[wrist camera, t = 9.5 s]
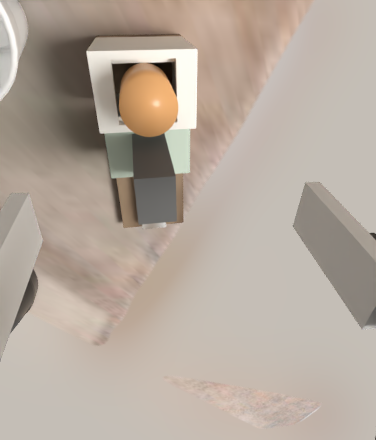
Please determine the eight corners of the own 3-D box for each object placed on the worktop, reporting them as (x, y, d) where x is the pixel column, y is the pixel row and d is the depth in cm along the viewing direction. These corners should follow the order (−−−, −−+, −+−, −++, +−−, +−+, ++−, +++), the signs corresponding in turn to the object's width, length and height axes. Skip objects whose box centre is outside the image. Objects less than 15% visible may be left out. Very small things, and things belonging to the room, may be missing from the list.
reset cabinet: (105, 104, 33) (99, 133, 26) (95, 37, 29) (86, 51, 23) (182, 100, 34) (196, 128, 27) (181, 36, 30) (197, 48, 24)
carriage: (112, 160, 35) (106, 232, 25) (106, 115, 32) (96, 175, 22) (184, 156, 36) (207, 223, 26) (183, 111, 33) (210, 167, 23)
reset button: (123, 116, 26) (122, 138, 22) (117, 63, 24) (115, 77, 20) (171, 114, 27) (178, 135, 23) (169, 62, 25) (177, 75, 21)
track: (123, 221, 43) (123, 237, 41) (96, 35, 31) (93, 40, 28) (181, 216, 44) (185, 231, 42) (179, 34, 32) (184, 38, 29)
